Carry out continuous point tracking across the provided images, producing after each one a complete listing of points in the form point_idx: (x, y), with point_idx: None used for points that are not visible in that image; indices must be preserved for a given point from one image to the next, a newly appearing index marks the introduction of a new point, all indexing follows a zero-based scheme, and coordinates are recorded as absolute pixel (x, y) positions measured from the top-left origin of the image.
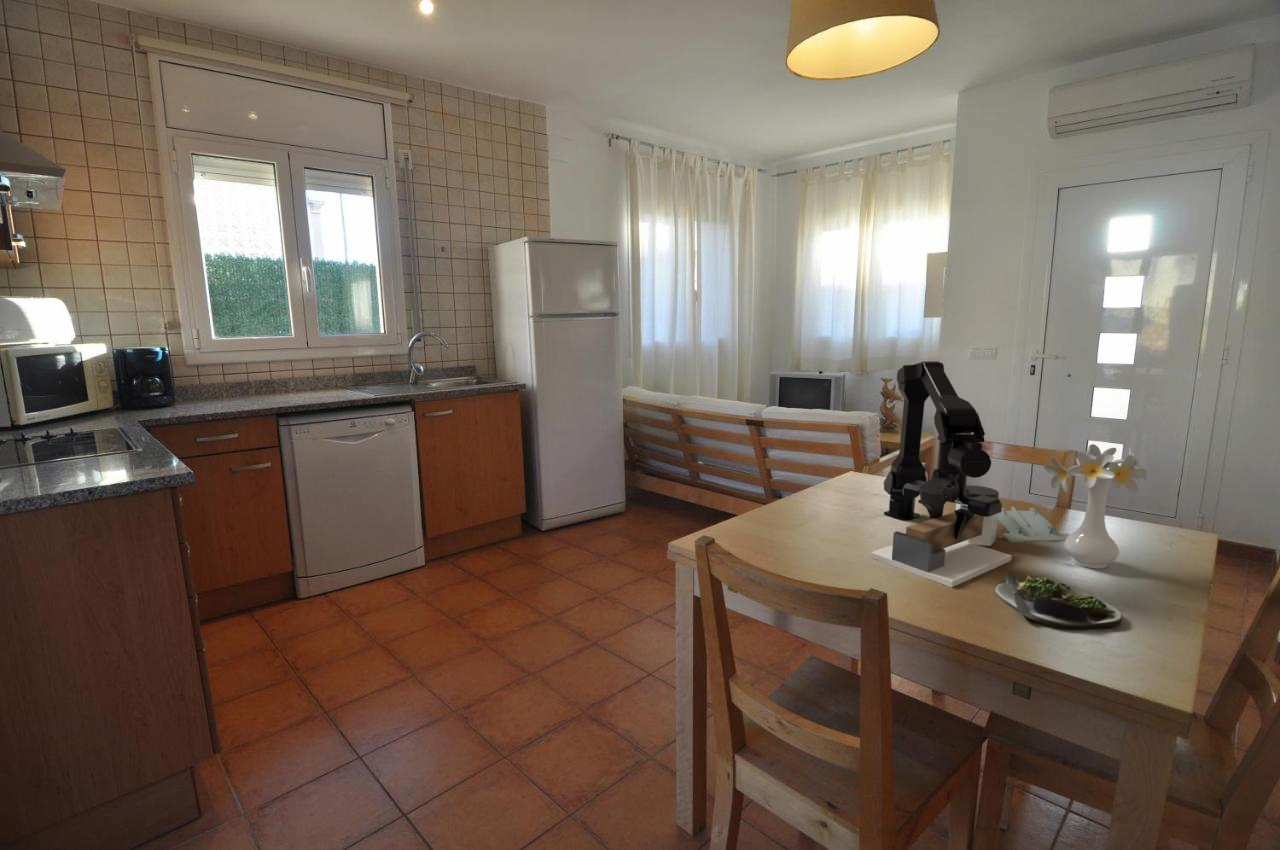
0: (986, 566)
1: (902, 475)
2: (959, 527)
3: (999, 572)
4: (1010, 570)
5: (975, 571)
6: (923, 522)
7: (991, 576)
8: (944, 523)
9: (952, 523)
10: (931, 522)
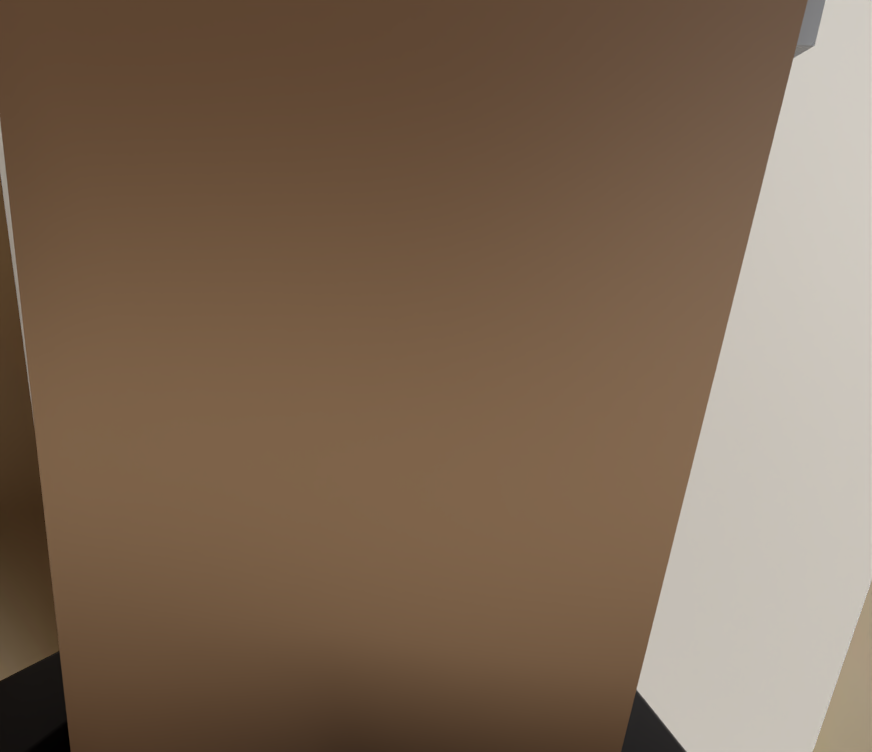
0: (32, 411)
1: None
2: (21, 681)
3: (25, 465)
4: (12, 557)
5: (10, 219)
6: (714, 71)
7: (4, 341)
8: (170, 555)
9: (66, 699)
10: (482, 348)
